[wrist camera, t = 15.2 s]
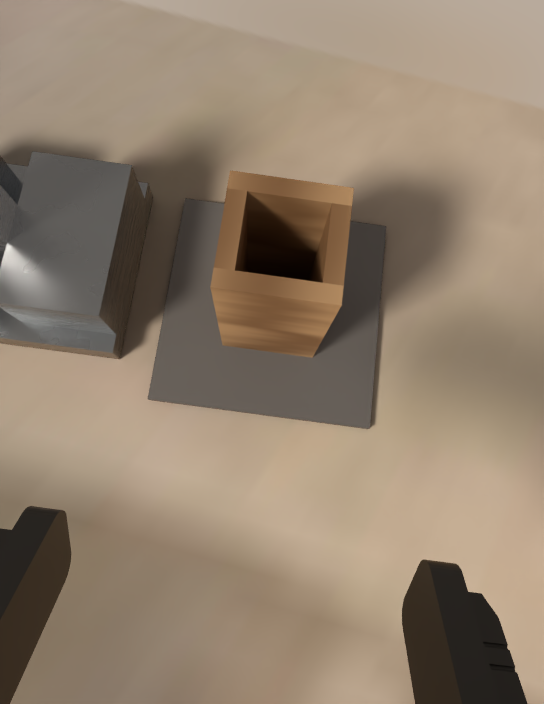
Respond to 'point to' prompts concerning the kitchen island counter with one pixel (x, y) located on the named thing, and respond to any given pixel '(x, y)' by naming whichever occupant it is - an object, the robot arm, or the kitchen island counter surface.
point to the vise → (69, 252)
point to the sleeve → (280, 262)
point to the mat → (261, 366)
